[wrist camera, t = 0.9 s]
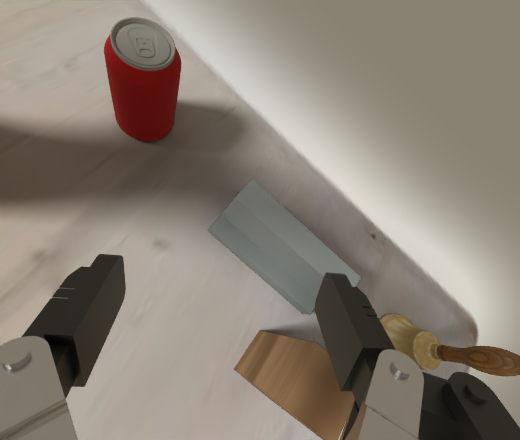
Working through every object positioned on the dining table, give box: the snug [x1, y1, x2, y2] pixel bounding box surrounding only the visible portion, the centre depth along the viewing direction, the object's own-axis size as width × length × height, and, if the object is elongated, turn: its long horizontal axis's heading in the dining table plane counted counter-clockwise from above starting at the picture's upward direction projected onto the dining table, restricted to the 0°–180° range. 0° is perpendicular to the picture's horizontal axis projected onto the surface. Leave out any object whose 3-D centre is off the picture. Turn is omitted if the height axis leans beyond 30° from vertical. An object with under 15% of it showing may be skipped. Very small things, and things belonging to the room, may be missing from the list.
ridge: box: [207, 178, 361, 314], centre depth 34 cm, size 16×7×8 cm, turn 52°
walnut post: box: [234, 331, 355, 440], centre depth 27 cm, size 5×5×13 cm
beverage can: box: [104, 17, 181, 141], centre depth 31 cm, size 7×7×12 cm
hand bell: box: [380, 314, 520, 376], centre depth 33 cm, size 8×8×16 cm
